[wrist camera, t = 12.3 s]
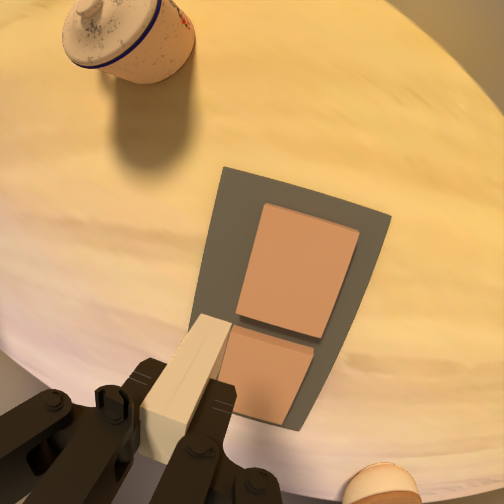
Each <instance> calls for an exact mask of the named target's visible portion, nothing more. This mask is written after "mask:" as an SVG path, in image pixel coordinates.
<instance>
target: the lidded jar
mask: <svg viewBox="0 0 504 504" xmlns="http://www.w3.org/2000/svg"><path fill="white" fill-rule="evenodd" d="M342 504H422V501H421V497H420V496H419V491H418V488H417V485H416V482H415V480H414V478H413V477H412V476H411V474H410V473H409V472H408V471H406V470H405V469H403V468H401V467H399V466H396V465H395V464H393V463H388V462H383V463H376V464H373V465H370V466H367V467H366V468H364V469H362V470H361V471H360V472H359V473H358V475H357V476H355V477H354V478H353V479H352V480H351V482H350V483H349V485H348V486H347V488H346V490H345V493H344V497H343V502H342Z"/></svg>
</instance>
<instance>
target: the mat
mask: <svg viewBox="0 0 504 504" xmlns="http://www.w3.org/2000/svg"><path fill="white" fill-rule="evenodd" d="M265 203H270V204H273V205H277V206H280V207H284V208H287V209H291V210H294V211H297V212H301V213H304V214H308V215H311V216H314V217H318V218H321V219H324V220H327V221H331V222H334V223H337V224H340V225H344V226H347V227H350V228H353V229H356V230H358V232H359V233H360V234H359V237H358V240H357V243H356V246H355V249H354V252H353V255H352V257H351V260H350V263H349V266H348V269H347V272H346V274H345V277H344V280H343V283H342V285H341V288H340V291H339V293H338V296H337V299H336V301H335V304H334V307H333V309H332V312H331V314H330V317H329V319H328V322H327V324H326V327H325V329H324V332H323V334H322V337H321V338H318V337H314V336H310V335H307V334H303V333H300V332H296V331H293V330H289V329H286V328H282V327H279V326H276V325H272V324H269V323H265V322H262V321H259V320H256V319H252V318H249V317H246V316H243V315H239V314H236V309H237V305H238V302H239V298H240V294H241V290H242V287H243V283H244V279H245V275H246V271H247V268H248V264H249V260H250V256H251V253H252V249H253V245H254V241H255V238H256V234H257V230H258V226H259V222H260V219H261V215H262V211H263V207H264V204H265ZM391 217H392V216H390V215H388V214H385V213H382V212H379V211H376V210H373V209H370V208H367V207H364V206H361V205H358V204H355V203H351V202H348V201H345V200H342V199H339V198H336V197H332V196H329V195H326V194H323V193H319V192H316V191H313V190H309V189H306V188H302V187H299V186H296V185H292V184H289V183H285V182H281V181H278V180H274V179H270V178H267V177H263V176H259V175H256V174H252V173H248V172H244V171H240V170H236V169H232V168H228V167H223V171H222V175H221V179H220V183H219V187H218V191H217V196H216V200H215V204H214V209H213V213H212V217H211V222H210V226H209V231H208V235H207V240H206V244H205V249H204V254H203V258H202V263H201V268H200V273H199V278H198V283H197V287H196V292H195V297H194V303H193V308H192V313H191V318H190V323H189V329H188V332H189V331H190V329H191V328H192V326H193V325H194V323H195V322H196V320H197V319H198V317H199V316H200V314H204V315H208V316H211V317H214V318H217V319H220V320H223V321H227V322H230V323H232V325H231V329H230V332H231V330H232V328H233V326H234V325H237V326H240V327H243V328H246V329H250V330H253V331H256V332H260V333H263V334H266V335H270V336H273V337H276V338H280V339H283V340H287V341H290V342H294V343H297V344H301V345H304V346H308V347H312V348H314V356H313V358H312V360H311V363H310V365H309V367H308V370H307V372H306V374H305V376H304V379H303V381H302V383H301V385H300V387H299V390H298V392H297V394H296V396H295V398H294V400H293V402H292V405H291V407H290V409H289V411H288V413H287V415H286V417H285V419H284V421H283V423H282V425H280V424H276V423H272V422H268V421H265V420H261V419H257V418H254V417H250V416H247V415H243V414H240V413H237V412H234V411H232V413H233V414H236V415H239V416H243V417H246V418H249V419H253V420H256V421H260V422H264V423H267V424H271V425H275V426H279V427H283V428H287V429H291V430H295V431H299V430H300V429H301V427H302V425H303V423H304V421H305V420H306V418H307V416H308V414H309V412H310V410H311V408H312V406H313V404H314V403H315V401H316V399H317V397H318V395H319V393H320V391H321V389H322V387H323V385H324V383H325V381H326V379H327V377H328V375H329V373H330V370H331V368H332V366H333V364H334V362H335V360H336V358H337V356H338V353H339V351H340V349H341V347H342V345H343V342H344V340H345V338H346V336H347V333H348V331H349V329H350V327H351V324H352V322H353V320H354V317H355V315H356V312H357V310H358V308H359V305H360V303H361V300H362V298H363V295H364V293H365V290H366V288H367V285H368V282H369V280H370V277H371V274H372V272H373V269H374V266H375V264H376V261H377V258H378V255H379V253H380V250H381V247H382V244H383V241H384V238H385V235H386V232H387V229H388V226H389V223H390V220H391ZM230 332H229V336H230ZM229 336H228V340H229ZM228 340H227V343H228ZM226 347H227V344H226ZM225 351H226V348H225ZM224 355H225V352H224ZM224 355H223V359H224ZM223 359H222V362H223ZM221 366H222V363H221ZM220 370H221V367H220ZM220 370H219V372H218V374H217V377H216V379H215V380H218V377H219V374H220Z"/></svg>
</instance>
